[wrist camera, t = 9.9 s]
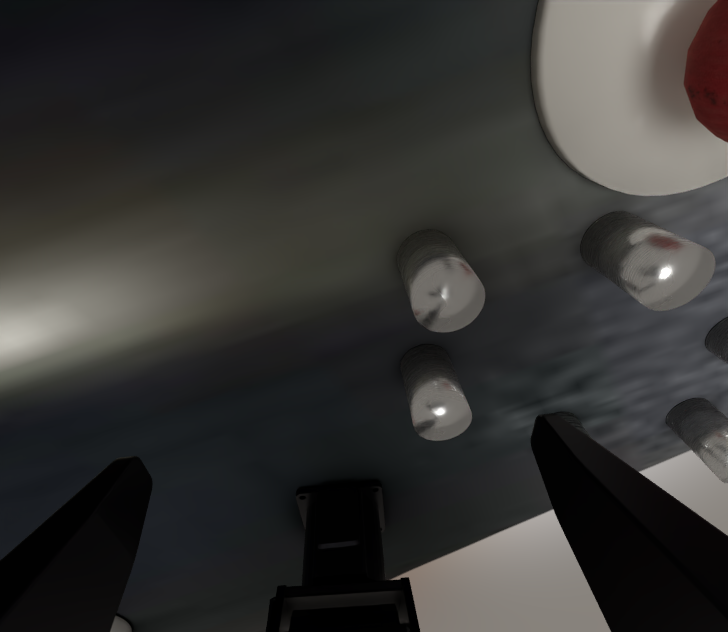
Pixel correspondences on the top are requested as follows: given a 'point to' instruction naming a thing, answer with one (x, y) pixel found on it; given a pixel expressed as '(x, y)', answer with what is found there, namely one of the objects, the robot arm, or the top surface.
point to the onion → (710, 71)
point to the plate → (623, 93)
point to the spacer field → (606, 255)
